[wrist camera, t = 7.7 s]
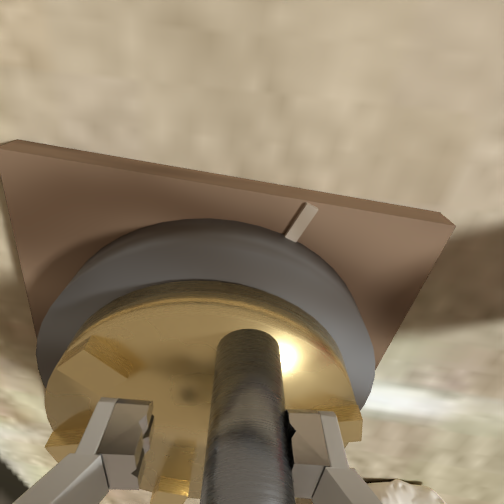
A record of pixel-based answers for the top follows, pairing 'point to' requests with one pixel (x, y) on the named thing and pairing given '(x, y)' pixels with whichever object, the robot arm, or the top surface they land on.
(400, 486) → the white tied sack
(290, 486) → the gold dial with handle
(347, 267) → the cap housing
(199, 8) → the top surface
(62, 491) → the robot arm
